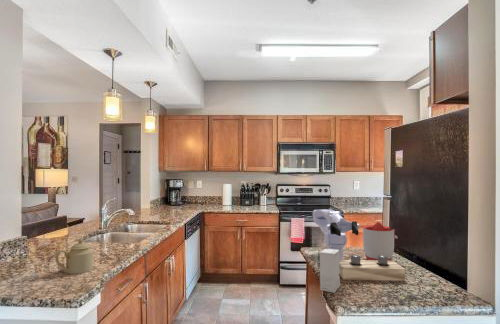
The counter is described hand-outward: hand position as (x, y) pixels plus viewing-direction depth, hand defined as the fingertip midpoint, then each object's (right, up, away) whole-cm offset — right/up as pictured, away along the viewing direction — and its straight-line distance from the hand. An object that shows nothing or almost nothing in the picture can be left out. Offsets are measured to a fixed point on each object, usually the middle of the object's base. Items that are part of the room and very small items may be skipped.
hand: (348, 233), depth 137 cm
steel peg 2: (+16, -16, +3) cm, 23 cm away
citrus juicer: (+25, -20, +27) cm, 42 cm away
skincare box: (-11, -19, -12) cm, 25 cm away
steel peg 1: (+4, -16, +3) cm, 17 cm away
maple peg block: (+10, -19, +3) cm, 22 cm away
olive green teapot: (-122, -19, +7) cm, 123 cm away
